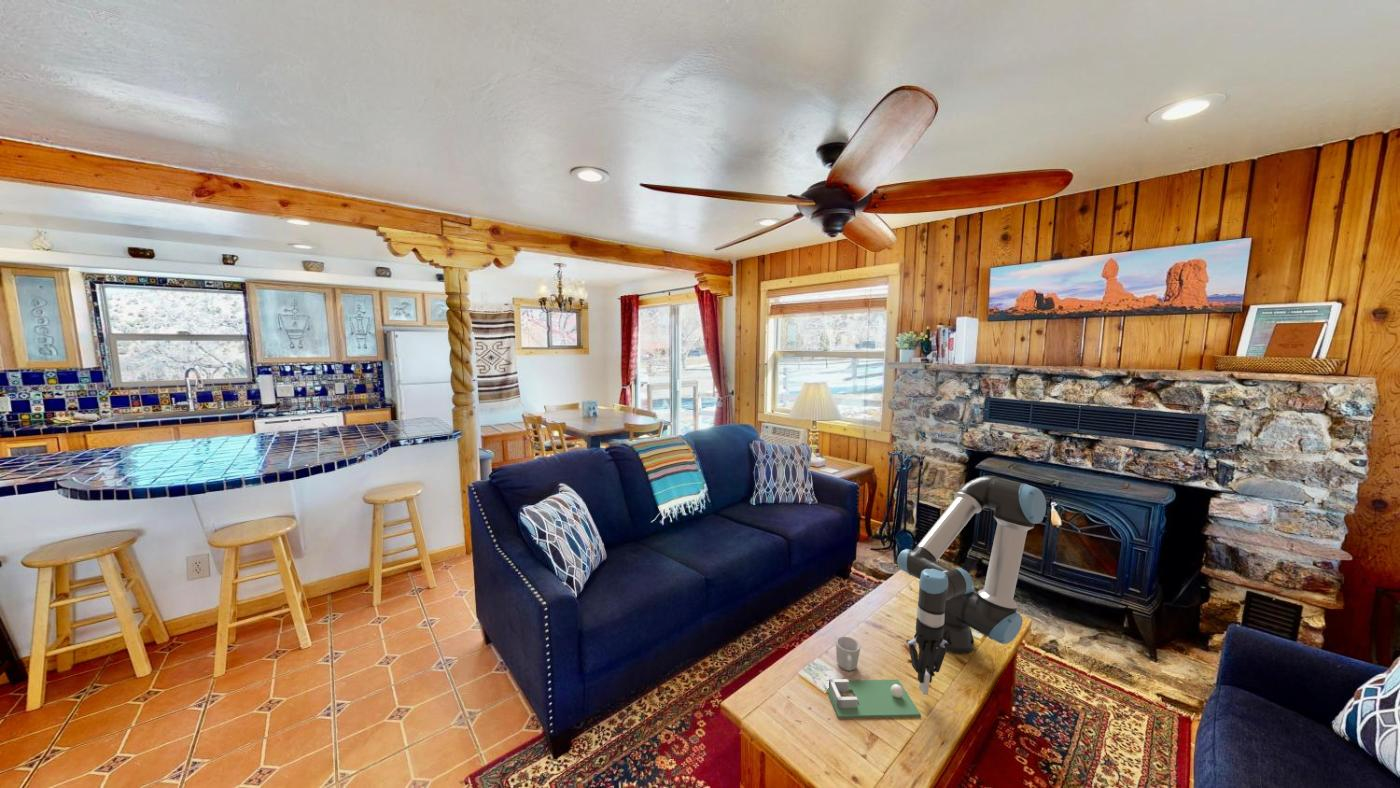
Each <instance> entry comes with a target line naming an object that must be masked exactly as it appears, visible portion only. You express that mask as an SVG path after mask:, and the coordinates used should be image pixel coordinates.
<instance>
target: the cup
mask: <svg viewBox="0 0 1400 788" xmlns="http://www.w3.org/2000/svg"><path fill="white" fill-rule="evenodd" d="M835 651H836V663H837V664H838V666H839V667H840V668H842V669H843V670H845V671H854V670H855V669H857V666H858V663H859V662H858V661H859V656H860V652H861V644H860V642H858V641H857V640H856V639H855V638H853V637H850V636H846V635H845V636H839V637H838V638H837V639H836V640H835Z"/></svg>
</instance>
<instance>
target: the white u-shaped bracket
mask: <svg viewBox="0 0 1400 788" xmlns="http://www.w3.org/2000/svg"><path fill="white" fill-rule="evenodd" d="M848 680H849V679H848V678H840V679H839V678H836V679H835V678H834V679H833V678H831V679H830V678H829V679H828V681H829V689H830V691H831V694H832V696H833V698H834V701H835V703H836V705H837V707H838V708H857V706H858V699H857V697H854V696H841V694H840V692H839V691H843V692H842V693H849V692H848V689H849V681H848ZM846 691H847V692H846Z"/></svg>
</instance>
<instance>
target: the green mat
mask: <svg viewBox="0 0 1400 788" xmlns="http://www.w3.org/2000/svg"><path fill="white" fill-rule="evenodd" d="M848 681H849V689H848V692H847V691H846V692H845V693H852V695H853V697H857V699H858V706H857V708H838V707H837V705H836V703H835V701H834V698H833V696H832V694H831V691H830V689H829V688H828V689H827V691H828V693H827V695H828V698H829V700H830V702H831V704H832V707H833V709H834V712H835V714H836V716H837V719H870V718H871V719H872V718H874V719H875V718H876V719H877V718H918V717H922V715H921V712H920V711H919V709H918V708H917V705H916V704H915V703H914V701H913V700H912V699H911V697H910V695H909V694H908V693H907V691H906V690H905V687H904V686H903V685H902V682H901V681H900V680H899V679H851V680H850V679H848ZM894 684H898V685H900V686H901V687H902V689H903V696H902V697H900V698H896V697H894V696H893V695H892V693H891V687H892V685H894ZM827 691H826V692H827ZM839 693H844V692H843V691H839Z"/></svg>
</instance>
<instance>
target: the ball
mask: <svg viewBox="0 0 1400 788" xmlns="http://www.w3.org/2000/svg"><path fill="white" fill-rule="evenodd" d="M891 693H892V695H893V696H894V697H896V698H900V697H902V696H903V689H902V687H901V686H900V685H898V684H894V685H892V687H891Z"/></svg>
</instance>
